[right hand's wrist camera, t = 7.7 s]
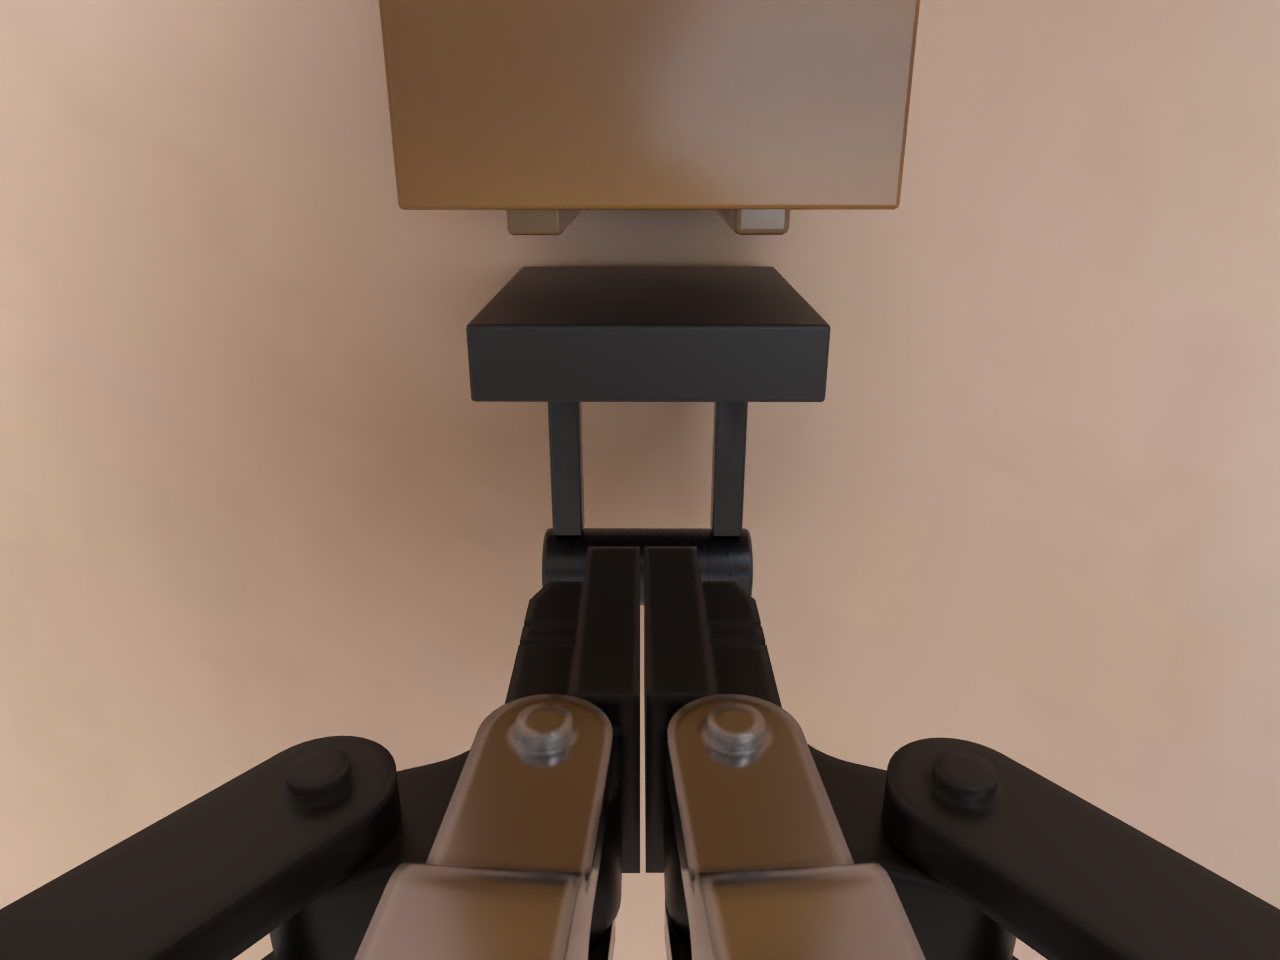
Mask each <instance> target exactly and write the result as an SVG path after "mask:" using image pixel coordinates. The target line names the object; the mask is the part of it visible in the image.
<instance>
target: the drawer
mask: <svg viewBox="0 0 1280 960" xmlns="http://www.w3.org/2000/svg"><path fill="white" fill-rule="evenodd" d="M714 210H715V211H716V212H717V213H718V214H719V215H720V216H721V217H722V218H723V219H724V220H725V222H726V223H727V224H728V225H729V226H730V227H731V228H732V229H733V230H734V231H735V232H736V233H738V234H740V235H782V234H785V233H787V231H788V229H789V219H790V209H714ZM581 211H582V209H567V210H507V226H508V232H509V233H510V234H512V235H559V234H561V233H562V232H563V231H564V230H565V229H566V227H567V226H568V225H569V224H570V223H571V222H572V221H573V220H574V218H575V217H576V216H577V215H578V214H579V213H580V212H581ZM466 331H467V345H468V359H469V373H470V386H471V398H472V400H473V401H478V402H548V419H549V444H550V468H551V493H552V518H553V528H550V529H547V531H546V533H545V536H544V543H543V554H542V586H543V587H544V586H545V585H546V584H547V583H548V582H584V574H585V566H586V558H587V550H588V547H640V605H644V561H645V547H697V553H698V560H699V568H700V575H701V581H735V582H736V583H738V584H739V585H740V586H741V587H742V588H743V589H744V590H745V591H746V592H747V593H748V594H749V595H750V596H751V595H752V584H753V556H752V543H751V537H750V534H749V531H748V530H747V529H742V520H743V498H744V476H745V453H746V431H747V409H748V402H822V401H824V399H825V391H826V378H827V366H828V353H829V340H830V326H829V324H828V323H827V322H826V321H825V320H824V319H823V318H822V317H821V316H820V315H819V314H818V313H817V312H816V311H815V310H814V309H813V308H812V307H811V306H810V305H809V304H808V303H807V302H806V301H805V300H804V298H803V297H802V296H801V295H800V294H799V293H798V292H797V291H796V290H795V289H794V288H793V287H792V286H791V285H790V284H789V283H788V282H787V281H786V280H785V279H784V278H783V277H782V276H781V275H780V274H779V273H778V272H777V270H776V269H775V268H774V267H522V268H521V269H520V270H519V272H518V273H517V274H516V275H515V276H514V277H513V278H512V279H511V280H510V281H509V282H508V283H507V284H506V285H505V286H504V287H503V288H502V289H501V290H500V291H499V292H498V294H497V295H496V296H495V297H494V298H493V299H492V300H491V301H490V302H489V303H488V304H487V305H486V306H485V307H484V308H483V309H482V310H481V311H480V312H479V313H478V314H477V315H476V317H475V318H474V319H473V320H472V321H471V322H470V323H469V324H468V325H467V327H466ZM581 402H714V426H713V458H712V491H711V529H651V528H584V491H583V453H582V415H581Z"/></svg>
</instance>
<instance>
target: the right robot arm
mask: <svg viewBox="0 0 1280 960" xmlns="http://www.w3.org/2000/svg"><path fill="white" fill-rule="evenodd" d="M644 702H645V827H646V873H664V878H665V945H666V953H667V960H1019V959H1017V958H1016V957H1014V956H1013V951H1014V946H1015V941H1016V937H1017V938H1018V939H1020V940H1021V941H1023V942H1024V943H1025V944H1027V945H1028V946H1029V947H1031V948H1032V949H1034V950H1035V951H1036V952H1038V953H1039V954H1041V955H1042V956H1043V957H1045V958H1046V959H1048V960H1280V910H1279V909H1278V908H1276V907H1274V906H1272V905H1271V904H1269V903H1267V902H1265V901H1263V900H1262V899H1260V898H1258V897H1256V896H1255V895H1253V894H1251V893H1249V892H1247V891H1246V890H1244V889H1242V888H1240V887H1239V886H1237V885H1235V884H1233V883H1231V882H1230V881H1228V880H1226V879H1224V878H1222V877H1221V876H1219V875H1217V874H1215V873H1214V872H1212V871H1210V870H1208V869H1206V868H1205V867H1203V866H1201V865H1199V864H1198V863H1196V862H1194V861H1192V860H1190V859H1189V858H1187V857H1185V856H1183V855H1181V854H1180V853H1178V852H1176V851H1174V850H1173V849H1171V848H1169V847H1167V846H1165V845H1164V844H1162V843H1160V842H1158V841H1157V840H1155V839H1153V838H1151V837H1149V836H1148V835H1146V834H1144V833H1142V832H1140V831H1139V830H1137V829H1135V828H1133V827H1132V826H1130V825H1128V824H1126V823H1124V822H1123V821H1121V820H1119V819H1117V818H1116V817H1114V816H1112V815H1110V814H1108V813H1107V812H1105V811H1103V810H1101V809H1100V808H1098V807H1096V806H1094V805H1092V804H1091V803H1089V802H1087V801H1085V800H1083V799H1082V798H1080V797H1078V796H1076V795H1075V794H1073V793H1071V792H1069V791H1067V790H1066V789H1064V788H1062V787H1060V786H1059V785H1057V784H1055V783H1053V782H1051V781H1050V780H1048V779H1046V778H1044V777H1042V776H1041V775H1039V774H1037V773H1035V772H1034V771H1032V770H1030V769H1028V768H1026V767H1025V766H1023V765H1021V764H1019V763H1018V762H1016V761H1014V760H1012V759H1010V758H1009V757H1007V756H1005V755H1003V754H1001V753H999V752H997V751H995V750H993V749H991V748H988V747H986V746H983V745H980V744H977V743H973V742H970V741H965V740H960V739H953V738H928V739H922V740H918V741H914V742H911V743H909V744H907V745H905V746H903V747H901V748H900V749H899V750H898V751H896V752H895V753H894V755H893V756H892V757H891V759H890V761H889V764H888V768H887V771H886V770H882V769H877V768H873V767H868V766H864V765H859V764H855V763H851V762H847V761H843V760H840V759H837V758H834V757H832V756H829V755H826V754H824V753H822V752H820V751H818V750H816V749H815V748H813V747H811V746H810V745H808V744H807V742H806V739H805V736H804V734H803V731H802V729H801V727H800V726H799V724H798V722H797V721H796V720H795V719H794V718H793V717H792V716H791V715H790V714H789V713H788V712H787V711H785V710H784V709H782V707H781V703H780V698H779V694H778V690H777V686H776V682H775V678H774V674H773V670H772V666H771V662H770V658H769V654H768V650H767V646H766V645H765V638H764V634H763V630H762V626H761V622H760V618H759V614H758V609H757V605H756V601H755V600H754V599H753V598H752V597H751V596H750V595H749V594H748V593H747V592H746V591H745V590H744V589H743V588H742V587H741V586H740V585H739V584H738V583H736V582H735V581H701V575H700V568H699V560H698V553H697V547H645V561H644ZM622 873H640V547H588V550H587V558H586V566H585V574H584V582H548V583H547V584H546V585H545V586H544V587H543V588H542V589H541V590H540V591H539V592H538V593H537V594H536V595H535V596H534V597H533V598H531V599H530V600H529V605H528V609H527V613H526V617H525V622H524V627H523V630H522V634H521V638H520V645H519V647H518V651H517V655H516V660H515V664H514V668H513V672H512V676H511V681H510V685H509V689H508V693H507V698H506V702H505V705H503V706H501V707H499V708H498V709H496V710H495V711H493V712H492V713H491V714H490V715H489V716H488V717H487V718H486V719H485V720H484V721H483V722H482V724H481V726H480V727H479V729H478V731H477V734H476V736H475V739H474V742H473V744H472V747H471V749H470V750H469V751H467V752H465V753H463V754H461V755H458V756H456V757H453V758H450V759H448V760H444V761H441V762H437V763H433V764H429V765H424V766H420V767H415V768H411V769H406V770H402V771H397V772H396V764H395V761H394V759H393V756H392V755H391V754H390V752H389V751H388V750H387V749H386V748H384V747H383V746H382V745H380V744H378V743H376V742H374V741H372V740H369V739H365V738H361V737H354V736H332V737H324V738H319V739H314V740H310V741H307V742H303V743H301V744H298V745H295V746H293V747H290V748H288V749H286V750H284V751H282V752H280V753H279V754H277V755H275V756H273V757H271V758H270V759H268V760H266V761H264V762H262V763H261V764H259V765H257V766H255V767H254V768H252V769H250V770H248V771H246V772H245V773H243V774H241V775H239V776H238V777H236V778H234V779H232V780H230V781H229V782H227V783H225V784H223V785H221V786H220V787H218V788H216V789H214V790H213V791H211V792H209V793H207V794H205V795H204V796H202V797H200V798H198V799H197V800H195V801H193V802H191V803H189V804H188V805H186V806H184V807H182V808H181V809H179V810H177V811H175V812H173V813H172V814H170V815H168V816H166V817H164V818H163V819H161V820H159V821H157V822H156V823H154V824H152V825H150V826H148V827H147V828H145V829H143V830H141V831H140V832H138V833H136V834H134V835H132V836H131V837H129V838H127V839H125V840H123V841H122V842H120V843H118V844H116V845H115V846H113V847H111V848H109V849H107V850H106V851H104V852H102V853H100V854H99V855H97V856H95V857H93V858H91V859H90V860H88V861H86V862H84V863H83V864H81V865H79V866H77V867H75V868H74V869H72V870H70V871H68V872H66V873H65V874H63V875H61V876H59V877H58V878H56V879H54V880H52V881H50V882H49V883H47V884H45V885H43V886H42V887H40V888H38V889H36V890H34V891H33V892H31V893H29V894H27V895H25V896H24V897H22V898H20V899H18V900H17V901H15V902H13V903H11V904H9V905H8V906H6V907H4V908H2V909H1V910H0V960H232V959H234V958H235V957H237V956H238V955H239V954H241V953H242V952H244V951H245V950H246V949H248V948H249V947H251V946H252V945H253V944H255V943H256V942H258V941H259V940H260V939H262V938H263V937H264V936H266V935H267V934H269V933H270V937H271V942H272V947H273V951H272V952H271V953H270V954H268V955H267V956H266V957H264V958H263V959H262V960H613V953H614V945H615V917H616V916H617V913H618V910H619V908H620V902H621V880H622Z"/></svg>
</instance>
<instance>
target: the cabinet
mask: <svg viewBox="0 0 1280 960" xmlns="http://www.w3.org/2000/svg"><path fill="white" fill-rule="evenodd" d="M919 4H920V0H379V6H380V16H381V27H382V37H383V48H384V58H385V68H386V79H387V89H388V100H389V110H390V121H391V131H392V141H393V152H394V162H395V173H396V183H397V194H398V204H399V206H400V208H401V209H404V210H567V209H896V208H898V206H899V202H900V192H901V182H902V173H903V163H904V153H905V143H906V133H907V123H908V113H909V103H910V93H911V83H912V73H913V63H914V53H915V44H916V34H917V24H918V14H919Z"/></svg>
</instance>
